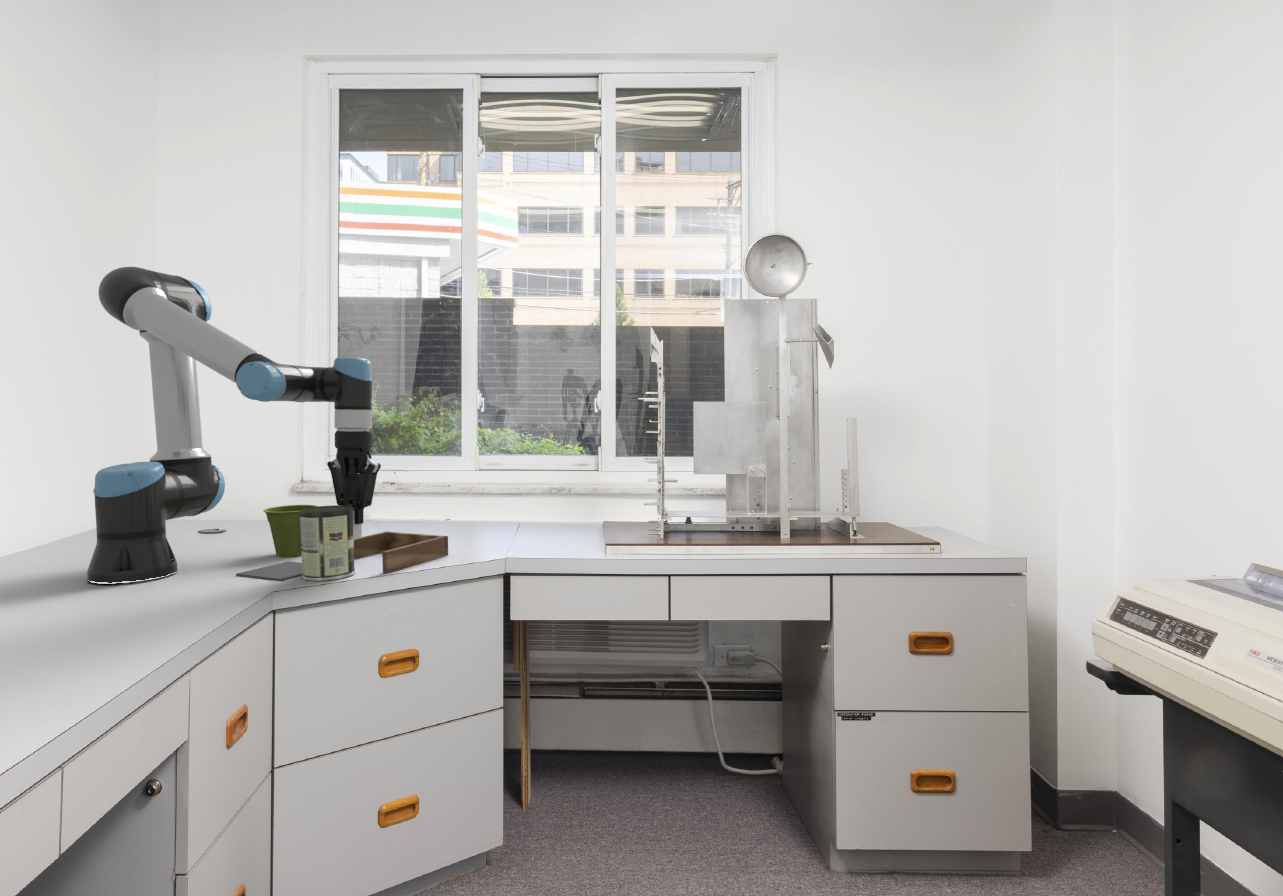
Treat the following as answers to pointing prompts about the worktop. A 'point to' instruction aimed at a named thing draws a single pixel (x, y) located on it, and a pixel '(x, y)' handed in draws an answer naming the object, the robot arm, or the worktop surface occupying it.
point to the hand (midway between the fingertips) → (354, 538)
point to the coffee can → (327, 542)
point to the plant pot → (286, 528)
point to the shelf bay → (401, 548)
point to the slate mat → (275, 571)
